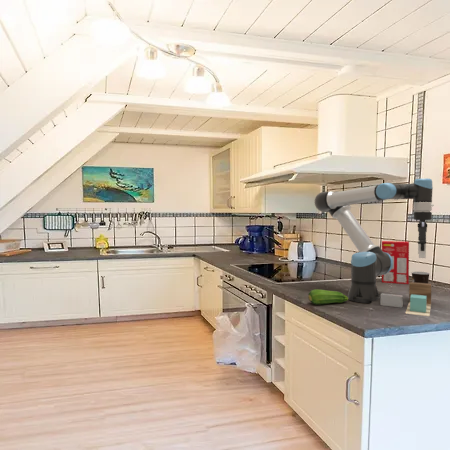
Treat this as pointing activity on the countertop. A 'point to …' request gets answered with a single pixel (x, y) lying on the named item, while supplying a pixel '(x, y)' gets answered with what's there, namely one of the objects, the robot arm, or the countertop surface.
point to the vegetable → (326, 297)
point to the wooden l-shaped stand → (420, 290)
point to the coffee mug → (420, 277)
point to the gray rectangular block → (391, 300)
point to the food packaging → (397, 262)
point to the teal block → (418, 303)
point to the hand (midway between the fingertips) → (421, 256)
